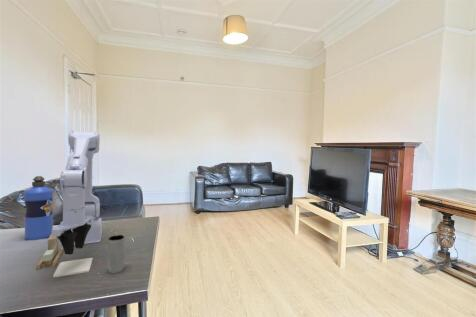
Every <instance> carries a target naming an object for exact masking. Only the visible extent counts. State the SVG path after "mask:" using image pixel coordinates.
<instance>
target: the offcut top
mask: <svg viewBox="0 0 476 317" xmlns="http://www.w3.org/2000/svg"><path fill="white" fill-rule="evenodd" d="M53 256H54V249H53V250H48V249H47V250H46V251H45V252H44V254H43V256H42V257H43V262H44V261H51V260H52V258H53Z"/></svg>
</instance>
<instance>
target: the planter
mask: <svg viewBox="0 0 476 317" xmlns="http://www.w3.org/2000/svg"><path fill="white" fill-rule="evenodd" d="M107 250H108V251H107V255H108V256H107V261H108V262H107V270H108V271H107V272H108V273H110V274H118V273H120V272H122V271H124V269H125V235H122V234H115V235H111V236H109V237H108V238H107Z"/></svg>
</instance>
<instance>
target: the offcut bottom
mask: <svg viewBox="0 0 476 317" xmlns="http://www.w3.org/2000/svg"><path fill="white" fill-rule="evenodd" d="M53 260H54V256H53V258H52V260H51V261H44V262H43V265H42V268H47V267H52V262H53Z"/></svg>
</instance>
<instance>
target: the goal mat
mask: <svg viewBox="0 0 476 317" xmlns="http://www.w3.org/2000/svg"><path fill="white" fill-rule="evenodd" d="M93 259H94V258H93V257H88V258H81V259H80V258H79V259H73V260H66V261H60V263H59V264H58V265H57V268H56V270H55V272H54V273H53V276H52V278H60V277H67V276H73V275H79V274H85V273H89V272H90V271H91V270H90V269H91V266H92V262H93Z"/></svg>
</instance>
